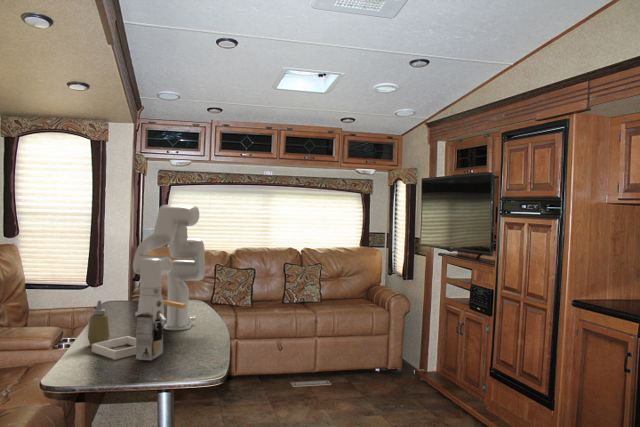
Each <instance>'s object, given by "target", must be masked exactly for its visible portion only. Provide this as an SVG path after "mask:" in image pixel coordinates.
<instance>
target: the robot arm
mask: <svg viewBox="0 0 640 427" xmlns="http://www.w3.org/2000/svg"><path fill="white" fill-rule="evenodd" d="M199 219H200V210H199V208H198V206H197V205H193V204H192V205H190V204H189V205H188V204H163V205H161V206H159V208H158V214H157V217H156V221H155V222H156V223H155V224H154V225H155V226H154V229H153V232H152V233H151V234H149V235H148V236H147V237H146V238H145V239H143V240H142V241H141V242H140V244H138V246H137V248H136V251H135V254H134V257H133V261H132V269H133V271H134V274H137V275H139V278H140V280H139V298H138V305H137V311H136V312H135V313H134V315H135V317H136V316H137V315H139V314H145V315H149V316H153V323H154V329H155V330H154V338H153V341H159V340H161V339H162V329H163V330H164V329H165V330H167V331H183V330H185V331H186V330H189V329H191V328H192V323H191V322H193V321H195V322H196V320H197V317H196V316H189V306H190V305H189V302H190V301H189V298H190V294H189V292H190V289H189V287H188V285H187V284H186V282H185V281H187V282H188V281H192V282H197V281H198V282H199V281H202V280H203V279H204V278H205V274H206V273H205V272H206V265H205V264H206V261H205V260H206V259H205V258H206V257H205V253H206V252H205V244H204V241H203V240H202V239H201V238H198V237H197V238H196V237H195V238H194V237H188V227H192V226H195V225H196V224H197V223H198V221H199ZM166 246H168V253H169V256H167V255H159V254H158V255H156V254H154V255H153V254H151V255H150V254H149V253H150V252H151V251H154V250H157V249H159V248H162V247H166ZM172 258H173V259H174V260H172ZM163 276H166V280H167V300H169V301H174V302H179V303H183V304H186V308H182V309H181V308H177V307H172V306H167V305H166V307H167V309H166V310H167V312H166V314H167V315H166V317H167V318H166V317H165V305H164V303H163V299H164V298H163V295H162V286H163V284H162V281H163V278H162V277H163ZM156 319H157V320H158V321H156V322H155V320H156ZM157 324H158V326H157Z"/></svg>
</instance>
